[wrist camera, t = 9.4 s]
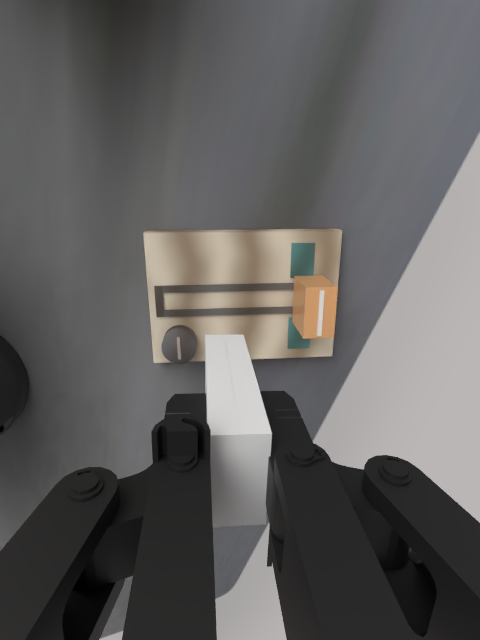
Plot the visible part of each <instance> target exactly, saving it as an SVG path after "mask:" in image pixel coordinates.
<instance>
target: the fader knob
mask: <svg viewBox="0 0 480 640" xmlns="http://www.w3.org/2000/svg"><path fill="white" fill-rule="evenodd" d="M337 294H338V286H336V285H335V284H334V283H332V282H331V281H329V280H328V279H327V278H325V277H324V276H323V275H318V276H294V291H293V314H292V322H293V324H294V325H295V327H296V328H297V330H298V331H299V333H300V335H301V336H302V338H303V339H309V338H334V331H335V319H336V306H337Z"/></svg>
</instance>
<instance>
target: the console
mask: <svg viewBox="0 0 480 640" xmlns="http://www.w3.org/2000/svg"><path fill="white" fill-rule="evenodd" d="M143 236H144V248H145V260H146V272H147V285H148V297H149V309H150V322H151V334H152V346H153V358H154V363H166V362H172V363H176V364H183V363H186V362H192V361H205V335H244V338H245V341H246V345H247V348H248V352H249V355H250V359H272V358H299V357H326V356H332V354H333V341H334V338H309V339H303V338H302V336H301V335H300V333H299V331H298V330H297V328H296V327H295V325H294V324H293V322H292V314H293V291H294V276H318V275H323V276H324V277H325V278H327V279H328V280H329V281H331V282H332V283H334V284H335V285H336V286H338V278H339V266H340V253H341V241H342V230H339V229H252V230H164V231H145V232H144V233H143Z"/></svg>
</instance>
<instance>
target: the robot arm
mask: <svg viewBox="0 0 480 640" xmlns="http://www.w3.org/2000/svg"><path fill="white" fill-rule="evenodd" d="M27 396H28V378H27V374H26V370H25V368H24V365H23V363H22V361H21V359H20V357H19V356H18V354H17V353H16V351H15V350H14V349H13V348H12V346H11V345H10V344H9V343H8V342H7V341H6V340H5V339H3V338H2V337H1V336H0V435H1V434H3V433H4V432H5V431H6V430H7V429H8V428H9V427H10V426H11V424H12V423H13V422H14V421H15V420H16V419H17V417H18V416H19V415H20V413H21V412H22V410H23V408H24V406H25V404H26V400H27ZM152 453H153V464H152V465H151V466H150V467H148V468H147V469H146V470H144V471H142V472H140V473H138V474H135V475H132V476H129V477H125V478H122V479H118V480H117V476H116V475H115V474H114V473H113V472H112V471H111V470H108V469H105V468H102V467H88V468H85V469H81V470H77V471H75V472H73V473H71V474H69V475H67V476H65V477H64V478H63V479H62V480H61V481H59V482H58V483H57V484H56V485H55V486H54V488H53V489H52V490H51V491H50V492H49V494H48V495H47V496H46V497H45V498H44V500H43V501H42V502H41V503H40V504H39V506H38V507H37V508H36V509H35V510H34V512H33V513H32V514H31V515H30V516H29V518H28V519H27V520H26V521H25V522H24V524H23V525H22V526H21V527H20V528H19V530H18V531H17V532H16V533H15V534H14V536H13V537H12V538H11V539H10V540H9V542H8V543H7V544H6V545H5V546H4V548H3V549H2V550H1V551H0V640H99V639H100V636H101V634H102V632H103V630H104V627H105V625H106V623H107V621H108V618H109V616H110V614H111V612H112V609H113V607H114V605H115V603H116V601H117V598H118V596H119V594H120V592H121V589H122V587H123V585H124V581H125V578H127V577H130V576H132V575H133V580H132V585H131V591H130V597H129V602H128V608H127V614H126V620H125V625H124V631H123V637H122V640H217V637H216V610H215V609H216V608H215V580H214V552H213V527H229V526H249V525H266V515H267V513H268V518H269V523H270V530H269V544H268V558H267V559H268V560H267V566H272V563H273V568H274V573H275V579H276V584H277V589H278V595H279V599H280V605H281V611H282V616H283V622H284V626H285V632H286V637H287V640H480V523H479V522H478V521H477V520H476V519H475V518H473V517H472V516H471V515H470V514H469V513H468V512H467V511H466V510H465V509H463V508H462V507H461V506H460V505H459V504H458V503H457V502H455V501H454V500H453V499H452V498H451V497H450V496H449V495H448V494H446V493H445V492H444V491H443V490H442V489H441V488H440V487H439V486H437V485H436V484H435V483H434V482H433V481H432V480H431V479H430V478H428V477H427V476H426V475H425V474H424V473H423V472H422V471H421V470H419V469H418V468H417V467H415V466H414V465H412V464H411V463H409V462H408V461H405V460H403V459H400V458H398V457H393V456H387V455H382V456H375V457H373V458H370V459H369V460H368V461H367V462H366V464H365V468H364V470H362V469H357V468H351V467H346V466H342V465H339V464H336V463H333V462H331V460H330V457H329V456H328V454H327V453H326V452H325V450H323V449H322V448H321V447H319V446H318V445H316V444H313V442H312V440H311V437H310V435H309V433H308V431H307V428H306V426H305V424H304V421H303V419H302V418H301V415H300V412H299V410H298V408H297V406H296V403H295V401H294V399H293V398H292V397H291V396H289V395H288V394H287V393H286V392H285V391H260V390H259V387H258V383H257V380H256V376H255V373H254V369H253V366H252V362H251V359H250V355H249V352H248V348H247V345H246V341H245V338H244V335H205V393H203V394H175V395H174V396H173V397H172V398H171V399H170V400H169V401H168V402H167V406H166V412H165V418H164V420H162V421H160V422H159V423H158V424H156V425H155V426H154V428H153V430H152Z"/></svg>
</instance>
